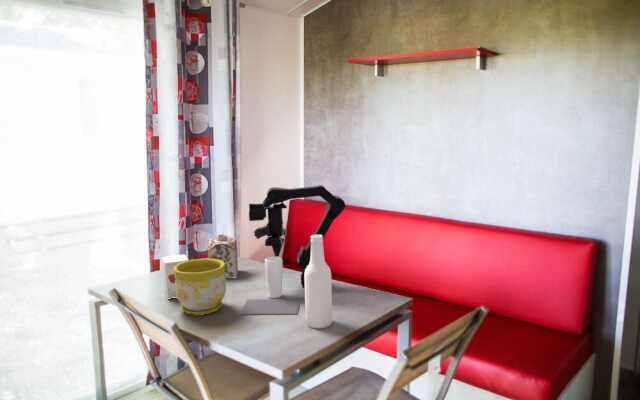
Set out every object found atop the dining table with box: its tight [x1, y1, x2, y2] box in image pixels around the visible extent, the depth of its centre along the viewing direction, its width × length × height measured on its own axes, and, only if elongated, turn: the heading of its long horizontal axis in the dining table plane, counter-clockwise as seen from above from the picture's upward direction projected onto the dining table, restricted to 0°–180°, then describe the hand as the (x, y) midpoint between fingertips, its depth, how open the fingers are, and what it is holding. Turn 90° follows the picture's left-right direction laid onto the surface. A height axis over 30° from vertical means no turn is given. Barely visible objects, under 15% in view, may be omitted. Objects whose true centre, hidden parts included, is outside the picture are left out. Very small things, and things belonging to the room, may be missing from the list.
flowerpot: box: [174, 258, 227, 316], centre depth 177 cm, size 18×18×16 cm
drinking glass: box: [264, 255, 284, 299], centre depth 188 cm, size 7×7×15 cm
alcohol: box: [304, 234, 333, 330], centre depth 161 cm, size 9×9×30 cm
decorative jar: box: [207, 233, 239, 279], centre depth 216 cm, size 12×12×18 cm
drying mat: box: [239, 298, 301, 316], centre depth 179 cm, size 20×14×1 cm
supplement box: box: [161, 253, 189, 299], centre depth 193 cm, size 9×9×15 cm
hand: (277, 257), depth 197 cm, fingers closed
